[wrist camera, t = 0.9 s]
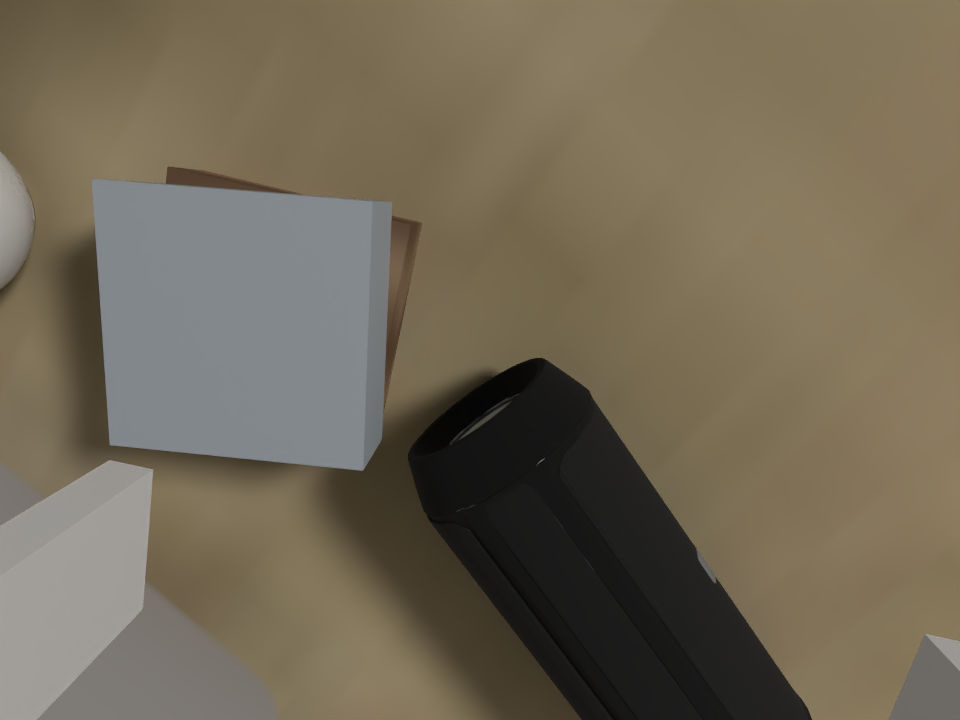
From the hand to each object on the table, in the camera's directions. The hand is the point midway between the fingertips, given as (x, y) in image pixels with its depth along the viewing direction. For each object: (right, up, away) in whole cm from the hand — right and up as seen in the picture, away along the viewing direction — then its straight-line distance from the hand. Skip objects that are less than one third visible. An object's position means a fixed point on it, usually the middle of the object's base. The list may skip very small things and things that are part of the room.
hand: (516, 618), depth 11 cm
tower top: (-11, +7, +21) cm, 25 cm away
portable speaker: (+7, -7, +27) cm, 29 cm away
